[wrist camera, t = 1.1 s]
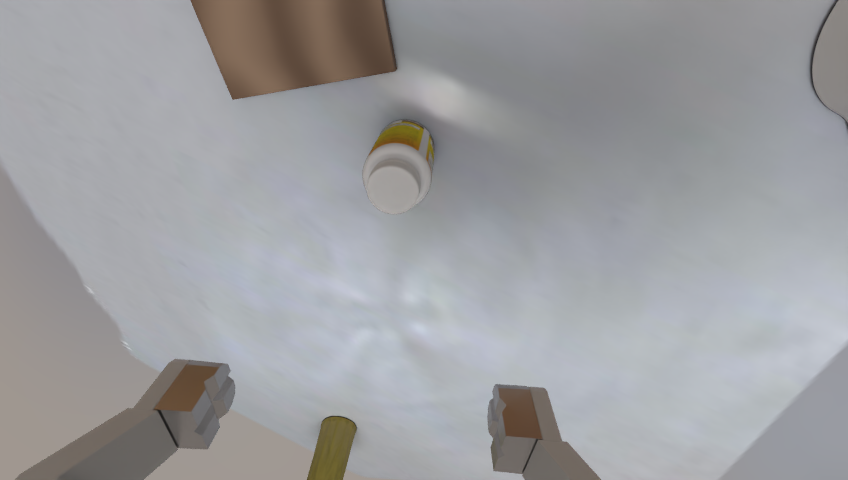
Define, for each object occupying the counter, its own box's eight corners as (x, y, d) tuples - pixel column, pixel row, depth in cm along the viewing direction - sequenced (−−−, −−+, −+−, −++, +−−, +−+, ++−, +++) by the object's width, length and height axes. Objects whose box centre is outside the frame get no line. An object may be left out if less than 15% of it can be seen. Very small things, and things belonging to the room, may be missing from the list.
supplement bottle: (366, 140, 35) (339, 182, 27) (411, 105, 33) (398, 139, 25) (401, 183, 37) (387, 235, 29) (446, 154, 35) (444, 200, 27)
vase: (344, 412, 60) (318, 512, 48) (363, 431, 63) (343, 530, 51) (315, 419, 62) (282, 517, 50) (334, 438, 65) (308, 535, 53)
